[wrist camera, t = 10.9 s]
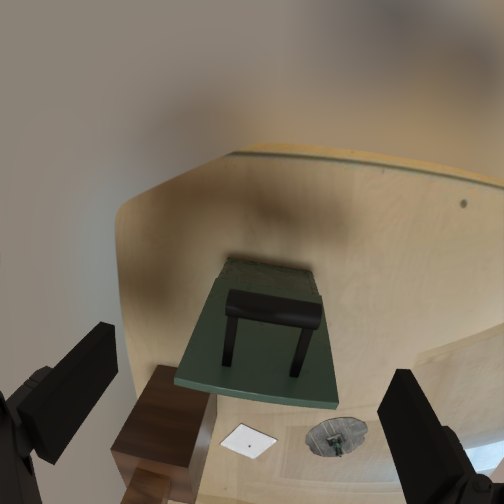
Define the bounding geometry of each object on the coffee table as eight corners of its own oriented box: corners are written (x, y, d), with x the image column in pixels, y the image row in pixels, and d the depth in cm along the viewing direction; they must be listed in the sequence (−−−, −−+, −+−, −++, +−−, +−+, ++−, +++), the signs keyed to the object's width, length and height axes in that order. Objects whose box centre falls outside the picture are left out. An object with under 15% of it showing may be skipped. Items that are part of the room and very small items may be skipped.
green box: (290, 359, 47) (292, 396, 38) (216, 347, 47) (204, 381, 39) (312, 271, 43) (320, 296, 34) (228, 257, 43) (216, 279, 35)
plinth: (157, 364, 49) (109, 449, 30) (216, 372, 49) (188, 468, 29) (163, 406, 52) (127, 489, 32) (217, 415, 51) (194, 505, 32)
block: (139, 483, 32) (121, 527, 24) (136, 467, 30) (115, 514, 23) (170, 492, 31) (156, 538, 24) (169, 477, 30) (153, 526, 22)
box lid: (336, 410, 20) (371, 333, 17) (174, 384, 20) (173, 301, 18) (319, 301, 34) (335, 241, 31) (215, 284, 35) (222, 222, 32)
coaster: (241, 423, 51) (240, 426, 50) (277, 440, 52) (277, 443, 51) (219, 444, 53) (218, 446, 52) (254, 459, 54) (253, 461, 53)
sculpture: (338, 460, 53) (320, 477, 47) (312, 430, 58) (292, 444, 52) (380, 430, 50) (366, 447, 43) (351, 398, 55) (334, 410, 49)
